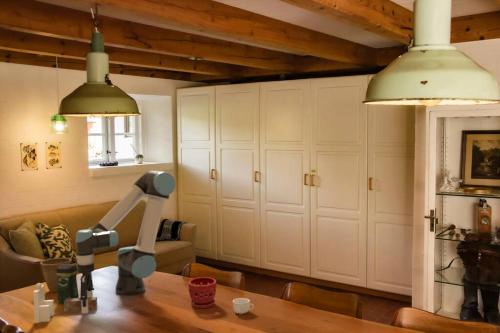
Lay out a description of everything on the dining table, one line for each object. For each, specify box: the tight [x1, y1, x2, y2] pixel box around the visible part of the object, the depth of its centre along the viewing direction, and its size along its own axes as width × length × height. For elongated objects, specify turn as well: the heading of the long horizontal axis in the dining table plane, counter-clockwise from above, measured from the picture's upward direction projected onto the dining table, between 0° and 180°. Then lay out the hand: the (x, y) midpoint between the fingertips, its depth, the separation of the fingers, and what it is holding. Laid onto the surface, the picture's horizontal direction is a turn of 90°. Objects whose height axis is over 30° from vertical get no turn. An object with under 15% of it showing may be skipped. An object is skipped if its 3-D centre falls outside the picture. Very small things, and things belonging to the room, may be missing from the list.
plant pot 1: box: [40, 257, 72, 294], centre depth 268 cm, size 15×15×16 cm
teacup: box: [232, 297, 255, 315], centre depth 230 cm, size 10×8×5 cm
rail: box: [63, 296, 98, 313], centre depth 238 cm, size 14×4×5 cm, turn 97°
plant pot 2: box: [188, 276, 217, 309], centre depth 240 cm, size 13×13×12 cm
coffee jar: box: [56, 263, 80, 304], centre depth 251 cm, size 10×8×19 cm
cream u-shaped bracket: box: [32, 282, 55, 324], centre depth 227 cm, size 6×10×16 cm, turn 7°
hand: (87, 308), depth 239 cm, fingers open, 11 cm apart
